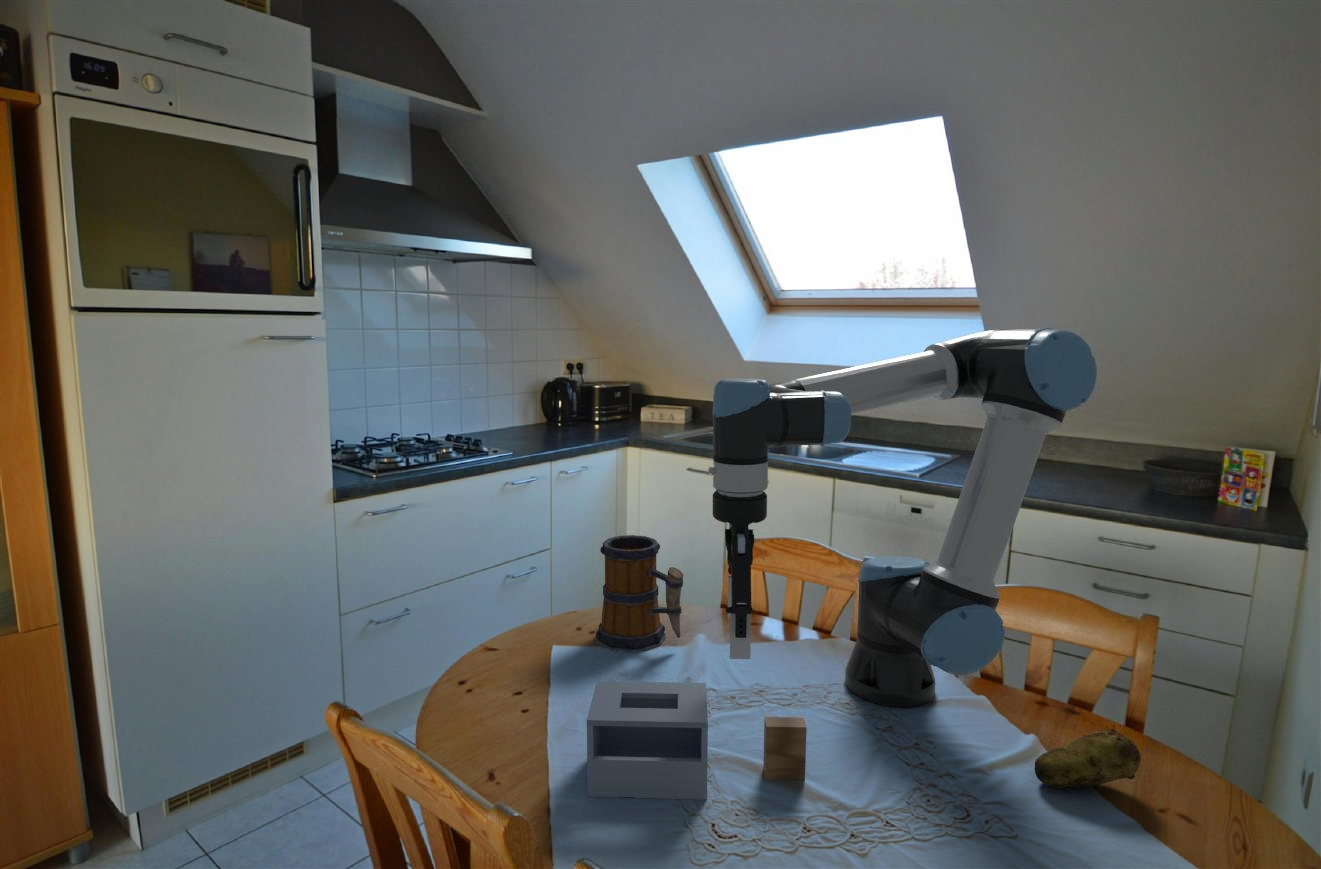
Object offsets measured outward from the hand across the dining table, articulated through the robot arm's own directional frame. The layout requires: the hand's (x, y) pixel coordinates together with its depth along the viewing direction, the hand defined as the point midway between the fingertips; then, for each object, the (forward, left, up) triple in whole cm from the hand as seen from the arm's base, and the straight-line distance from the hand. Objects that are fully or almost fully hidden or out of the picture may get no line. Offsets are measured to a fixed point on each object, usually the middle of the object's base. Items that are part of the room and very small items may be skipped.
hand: (738, 636), depth 105 cm
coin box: (+13, +4, -19) cm, 23 cm away
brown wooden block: (-6, +3, -19) cm, 20 cm away
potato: (-47, +4, -19) cm, 51 cm away
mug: (+17, -42, -19) cm, 49 cm away
